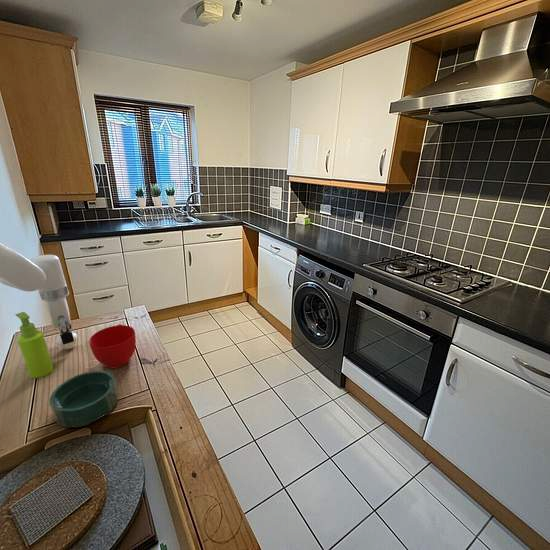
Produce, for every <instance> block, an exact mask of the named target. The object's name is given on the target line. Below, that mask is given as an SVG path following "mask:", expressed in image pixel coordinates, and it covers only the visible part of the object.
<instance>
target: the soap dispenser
mask: <svg viewBox="0 0 550 550" xmlns="http://www.w3.org/2000/svg"><path fill="white" fill-rule="evenodd" d="M15 317H17V318H18V319H19V320H20V322H21V325H20V326H19V331H20V336H18V337H17V338H16V339H17V343H18V347H19V348H20V351H21V354H22V357H23V360H24V362H25V364H26V365H25V367H26V369H27V371H28V373H29V374H28V375H29V377H30V378H32V379H38V378H42V377H45V376H47V375H49V374H51V373H52V372H53V370H54V365H53V361H52V358H51V355H50V352H49V349H48V346H47V342H46V339H45V336H44V333H43V331H41V330H37V329H36V325H35V323H33V322H30V320H29V319H30V318H31V317H30V315H28V313H27V312H26V311H22V312H17V313H15Z"/></svg>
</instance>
